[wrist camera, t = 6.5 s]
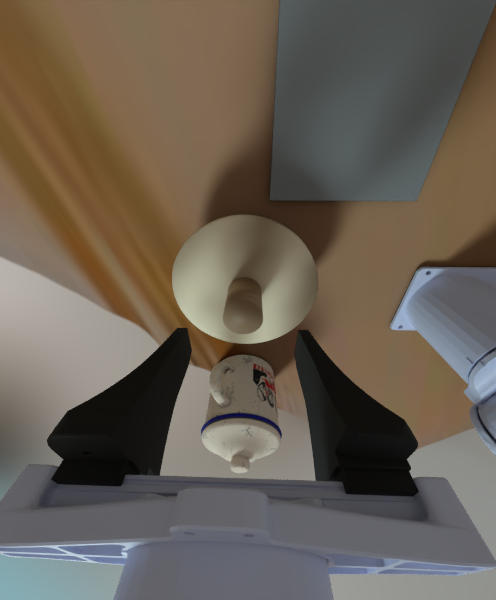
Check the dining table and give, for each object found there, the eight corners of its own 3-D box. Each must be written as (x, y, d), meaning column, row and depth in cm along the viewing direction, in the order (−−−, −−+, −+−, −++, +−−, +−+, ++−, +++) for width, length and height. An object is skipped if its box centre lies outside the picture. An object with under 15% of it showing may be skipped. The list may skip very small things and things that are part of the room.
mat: (508, -48, 11) (519, -57, 11) (412, 199, 18) (416, 201, 17) (281, -43, 12) (282, -52, 11) (269, 199, 18) (269, 200, 18)
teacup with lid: (283, 383, 32) (296, 480, 23) (230, 396, 35) (221, 489, 25) (252, 328, 26) (251, 427, 17) (190, 348, 29) (157, 446, 19)
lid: (334, 221, 15) (359, 241, 12) (299, 341, 22) (308, 378, 18) (165, 207, 15) (137, 223, 11) (182, 333, 22) (167, 369, 18)
